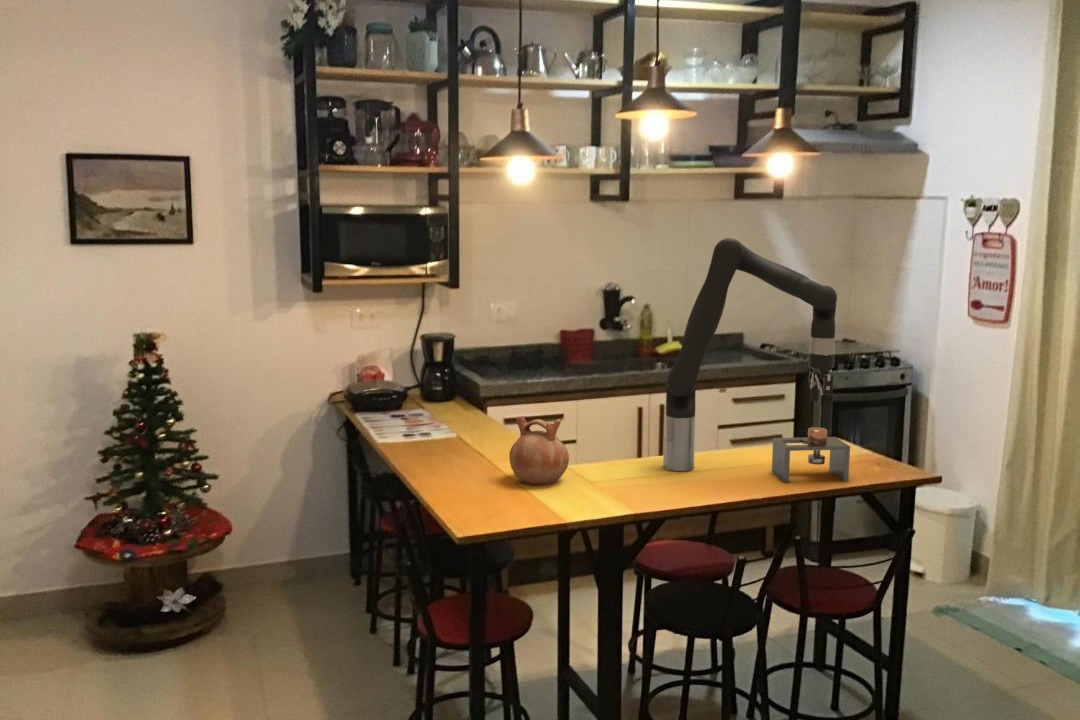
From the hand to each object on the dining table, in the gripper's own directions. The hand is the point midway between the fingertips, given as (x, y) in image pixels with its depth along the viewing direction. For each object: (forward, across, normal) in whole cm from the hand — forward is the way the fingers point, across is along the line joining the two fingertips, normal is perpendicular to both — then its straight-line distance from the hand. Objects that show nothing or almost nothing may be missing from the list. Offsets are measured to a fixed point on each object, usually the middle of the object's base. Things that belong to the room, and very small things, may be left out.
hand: (819, 404), depth 295 cm
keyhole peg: (+18, 0, 0) cm, 18 cm away
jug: (+24, -2, -86) cm, 89 cm away
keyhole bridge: (+23, 0, -2) cm, 23 cm away
